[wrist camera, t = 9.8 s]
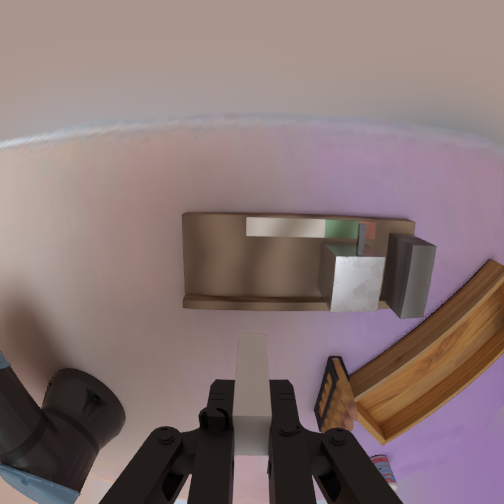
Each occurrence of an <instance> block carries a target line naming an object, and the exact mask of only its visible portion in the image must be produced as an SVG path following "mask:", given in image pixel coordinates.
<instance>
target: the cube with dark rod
mask: <svg viewBox="0 0 504 504" xmlns="http://www.w3.org/2000/svg"><path fill="white" fill-rule="evenodd" d="M365 236H366V224H364V223H358V235H357V243H344V242H322V255H321V268H320V279H319V292H320V293H321V295H322V297H323V299H324V301H325V303H326V305H327V307H328V309H329V311H330V312H361V311H377V308H378V302H379V296H380V290H381V284H382V277H383V270H384V263H385V257H384V256H383V255H381V254H380V253H378V252H377V251H375V250H374V249H372V248H371V247H370V246H368V245H367V244H365Z"/></svg>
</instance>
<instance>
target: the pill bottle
mask: <svg viewBox="0 0 504 504" xmlns="http://www.w3.org/2000/svg"><path fill="white" fill-rule="evenodd" d="M370 459H371V461H372V462H373V463H374V465H375V466H376V467H377V469H378V470H379V472H380V473H381V474H382V476H383V477H384V478H385V480H386V481H387V482H388V484H389V485H390V487H391V488H392V489H393V491H394V492H395V491H396V489H397V483H396V480H395V478H394V475H393V472H392V470H391V467H390V464H389V462H388V459H387V458H386V457H385V456H375V457H372V458H370ZM396 495H397V494H396Z"/></svg>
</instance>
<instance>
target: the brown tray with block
mask: <svg viewBox="0 0 504 504" xmlns="http://www.w3.org/2000/svg"><path fill="white" fill-rule="evenodd" d="M358 223H364V224H366V236H365V244H367V245H368V246H370V247H371V248H372V249H374V250H375V251H377V252H378V253H380V254H381V255H383V256H384V257H385V263H384V270H383V277H382V284H381V290H380V296H379V302H378V308H377V309H388V308H391V309H392V310H393V311H394V313H395V314H396V315H397V316H398V317H399V318H400V319H406V318H419V317H423V314H424V310H425V306H426V301H427V297H428V292H429V287H430V282H431V276H432V271H433V265H434V259H435V252H436V246H435V245H433V244H431V243H429V242H426V241H424V240H422V239H420V238H418V237H415V236H414V229H415V222H413V221H411V220H407V219H392V218H376V217H357V216H336V215H311V214H278V213H211V212H186V213H184V214H183V215H182V227H183V256H184V276H185V293H186V295H185V297H184V298H183V308H190V309H214V310H251V311H329V309H328V307H327V305H326V303H325V301H324V299H323V297H322V295H321V293H320V292H319V279H320V268H321V255H322V242H344V243H357V235H358Z"/></svg>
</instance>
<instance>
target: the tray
mask: <svg viewBox="0 0 504 504" xmlns="http://www.w3.org/2000/svg"><path fill="white" fill-rule="evenodd" d="M503 353H504V265H502V264H500V263H498V262H496V261H493V260H490V261H489V262H488V263H487V264H486V265H485V266H484V267H483V268H482V269H481V270H480V271H479V272H478V273H477V274H476V275H475V276H474V277H473V278H472V279H471V280H470V281H469V282H468V283H467V284H466V285H465V286H464V287H463V288H462V289H461V290H460V291H459V292H458V293H456V294H455V295H454V296H453V297H452V298H451V299H450V300H449V301H448V302H447V303H445V304H444V305H443V306H442V307H441V308H440V309H439V310H437V311H436V312H435V313H434V314H433V315H432V316H430V317H429V318H428V319H427V320H426V321H424V322H423V323H422V324H421V325H419V326H418V327H417V328H416V329H414V330H413V331H412V332H410V333H409V334H408V335H407V336H405V337H404V338H403V339H401V340H400V341H399V342H397V343H396V344H395V345H393V346H392V347H391V348H389V349H388V350H386V351H385V352H384V353H382V354H381V355H379V356H378V357H377V358H375V359H374V360H372V361H371V362H369V363H368V364H366V365H365V366H363V367H362V368H360V369H359V370H357V371H356V372H354V373H353V374H351V375H350V376H349V378H350V381H349V384H350V386H351V389H352V392H353V396H354V400H355V404H356V407H357V413H358V417H357V421H358V422H359V423H360V424H361V425H362V426H363V427H364V428H365V429H366V430H367V431H368V432H369V433H370V434H371V435H372V436H373V437H374V438H375V439H376V440H377V441H378V442H379V443H380V444H381V445H382V446H383V445H385V444H386V443H388V442H390V441H391V440H393V439H395V438H396V437H398V436H400V435H401V434H403V433H404V432H406V431H408V430H409V429H411V428H412V427H414V426H415V425H417V424H418V423H420V422H421V421H423V420H424V419H425V418H427V417H428V416H430V415H431V414H433V413H434V412H435V411H437V410H438V409H439V408H441V407H442V406H443V405H445V404H446V403H447V402H449V401H450V400H451V399H452V398H454V397H455V396H456V395H458V394H459V393H460V392H461V391H462V390H464V389H465V388H466V387H467V386H468V385H470V384H471V383H472V382H473V381H474V380H475V379H477V378H478V377H479V376H480V375H481V374H482V373H483V372H484V371H486V370H487V369H488V368H489V367H490V366H491V365H492V364H493V363H494V362H495V361H496V360H497V359H498V358H499V357H500V356H501V355H502V354H503Z"/></svg>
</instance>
